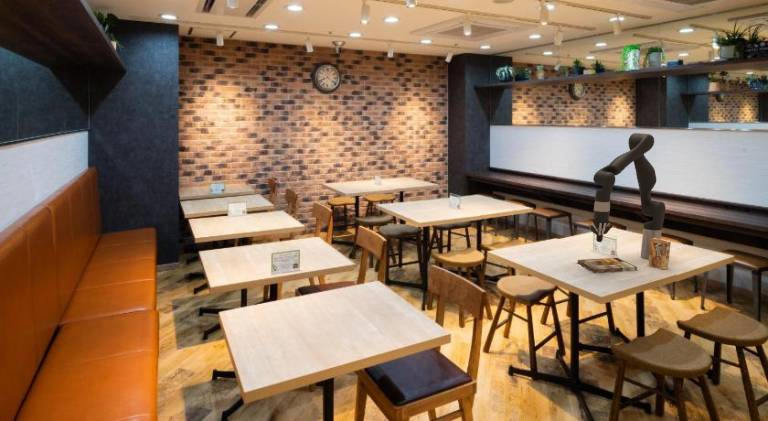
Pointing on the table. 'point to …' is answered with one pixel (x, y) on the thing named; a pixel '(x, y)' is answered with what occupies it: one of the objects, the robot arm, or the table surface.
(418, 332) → the table surface
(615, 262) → the ochre block
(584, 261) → the compartment board
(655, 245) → the candy box
